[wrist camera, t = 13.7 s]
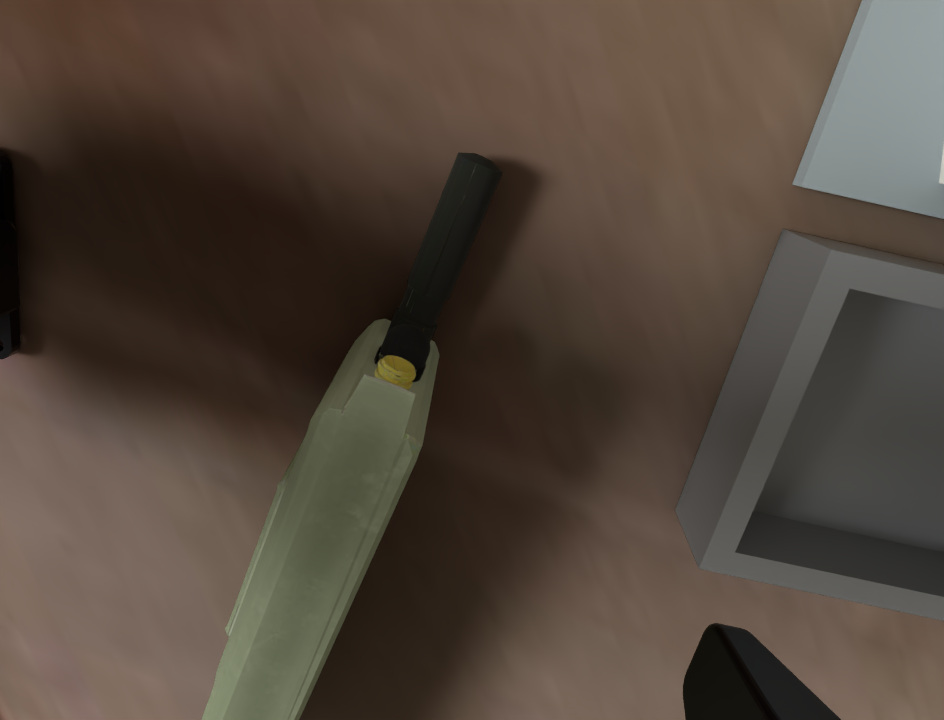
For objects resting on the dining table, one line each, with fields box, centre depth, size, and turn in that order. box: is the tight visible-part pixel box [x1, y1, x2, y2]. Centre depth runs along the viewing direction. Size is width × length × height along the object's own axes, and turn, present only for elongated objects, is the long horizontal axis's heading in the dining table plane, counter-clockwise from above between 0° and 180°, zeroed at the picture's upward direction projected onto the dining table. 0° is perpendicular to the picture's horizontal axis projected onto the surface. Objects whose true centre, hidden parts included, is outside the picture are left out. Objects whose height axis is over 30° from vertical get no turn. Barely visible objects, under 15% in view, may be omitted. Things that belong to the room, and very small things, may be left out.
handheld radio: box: [202, 153, 503, 720], centre depth 20 cm, size 7×3×25 cm
